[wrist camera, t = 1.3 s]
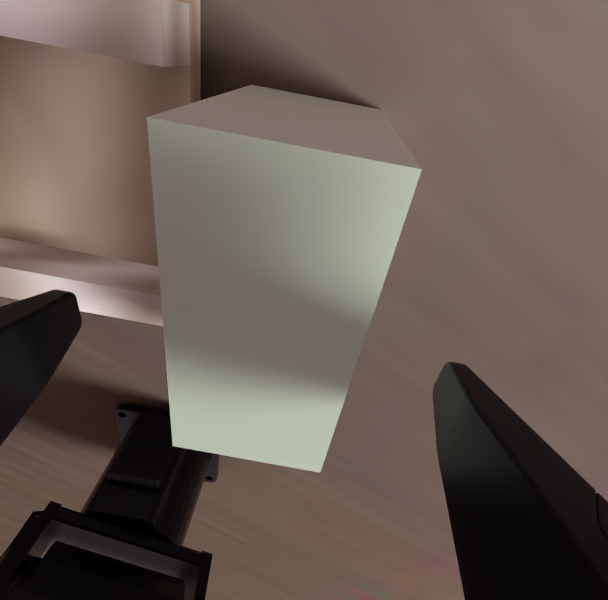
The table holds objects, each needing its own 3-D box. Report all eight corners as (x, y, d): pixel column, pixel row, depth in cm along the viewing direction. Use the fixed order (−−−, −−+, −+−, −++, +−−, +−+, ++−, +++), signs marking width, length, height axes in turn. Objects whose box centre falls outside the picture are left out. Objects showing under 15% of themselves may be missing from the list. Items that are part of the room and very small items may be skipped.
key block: (329, 315, 18) (320, 472, 11) (237, 298, 17) (172, 445, 11) (381, 109, 12) (422, 168, 6) (251, 84, 12) (146, 117, 6)
